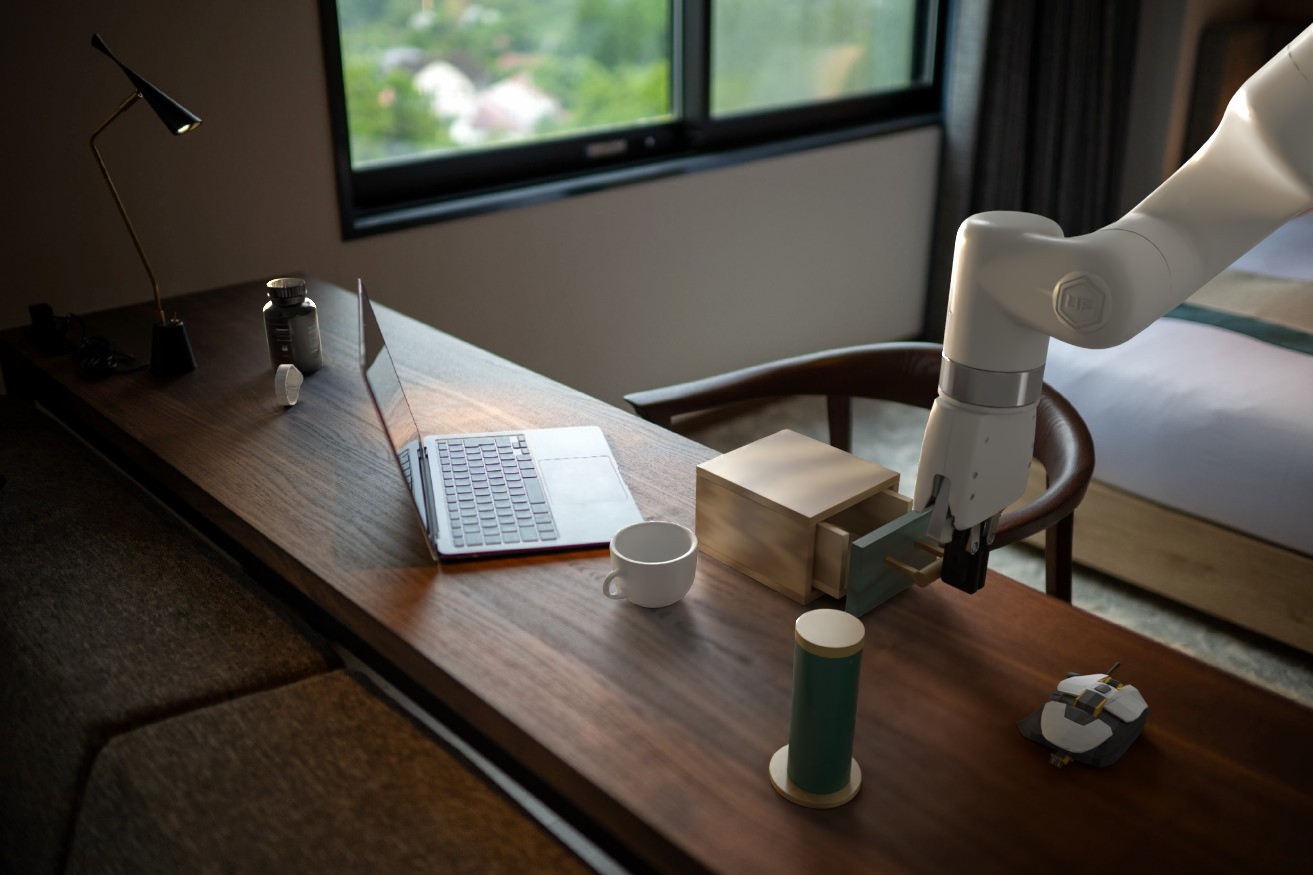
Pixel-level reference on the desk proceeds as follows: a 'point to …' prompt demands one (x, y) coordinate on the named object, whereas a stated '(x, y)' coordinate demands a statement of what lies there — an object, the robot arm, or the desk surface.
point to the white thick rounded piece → (287, 384)
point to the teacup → (652, 563)
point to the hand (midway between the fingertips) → (961, 584)
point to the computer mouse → (1088, 719)
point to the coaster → (806, 798)
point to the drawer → (874, 551)
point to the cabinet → (779, 506)
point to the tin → (824, 700)
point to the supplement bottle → (292, 326)
